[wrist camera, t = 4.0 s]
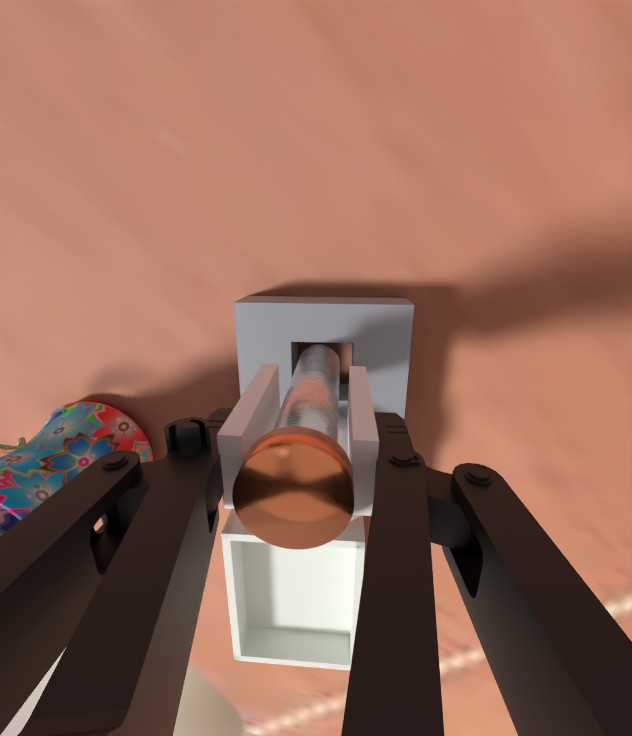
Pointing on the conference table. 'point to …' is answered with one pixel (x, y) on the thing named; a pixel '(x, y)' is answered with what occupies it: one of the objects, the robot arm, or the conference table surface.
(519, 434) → the conference table surface
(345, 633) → the tray
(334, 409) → the lock pin
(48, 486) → the mug
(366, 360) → the grey slotted block
